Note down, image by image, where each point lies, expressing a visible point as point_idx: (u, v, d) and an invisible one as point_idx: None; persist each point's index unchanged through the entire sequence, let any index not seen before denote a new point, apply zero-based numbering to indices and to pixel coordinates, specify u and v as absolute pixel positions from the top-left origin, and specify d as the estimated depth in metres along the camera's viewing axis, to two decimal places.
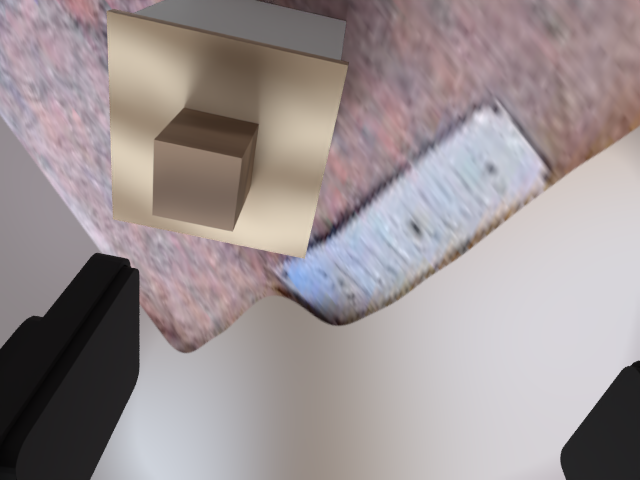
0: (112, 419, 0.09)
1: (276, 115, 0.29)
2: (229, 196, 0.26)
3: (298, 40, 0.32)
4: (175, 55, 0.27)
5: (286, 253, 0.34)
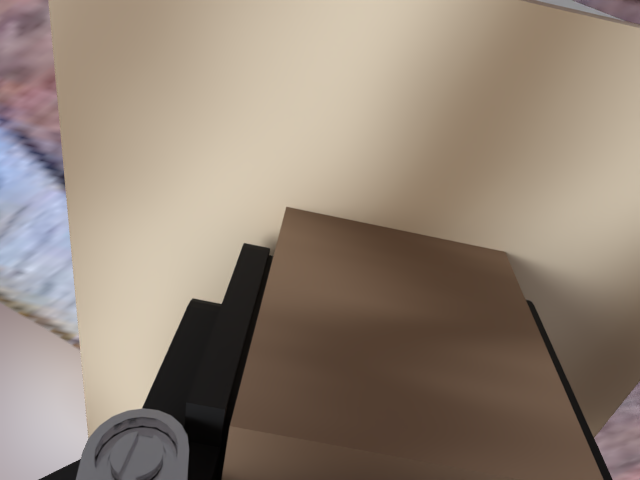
0: None
1: None
2: None
3: None
4: None
5: (88, 406, 0.14)
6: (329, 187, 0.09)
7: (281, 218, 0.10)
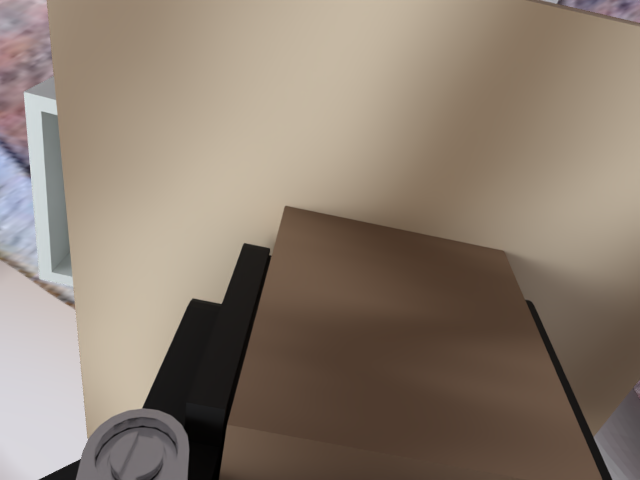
0: None
1: None
2: None
3: None
4: None
5: (87, 405, 0.14)
6: (328, 186, 0.09)
7: (280, 217, 0.10)
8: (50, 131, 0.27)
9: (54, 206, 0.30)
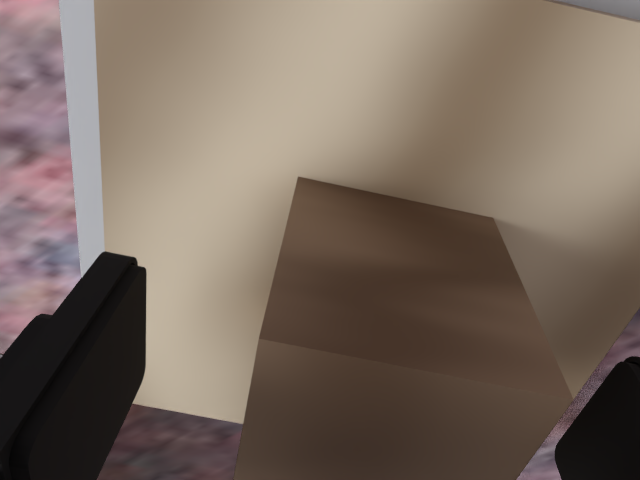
0: (119, 416, 0.09)
1: None
2: None
3: None
4: (628, 220, 0.11)
5: None
6: (336, 158, 0.11)
7: (293, 187, 0.11)
8: None
9: None
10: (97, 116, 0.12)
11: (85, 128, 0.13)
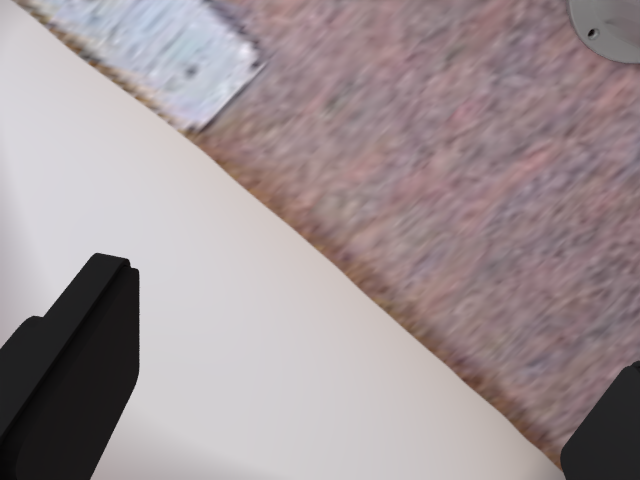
0: (112, 419, 0.09)
1: None
2: None
3: None
4: None
5: None
6: None
7: None
8: None
9: None
10: None
11: None
